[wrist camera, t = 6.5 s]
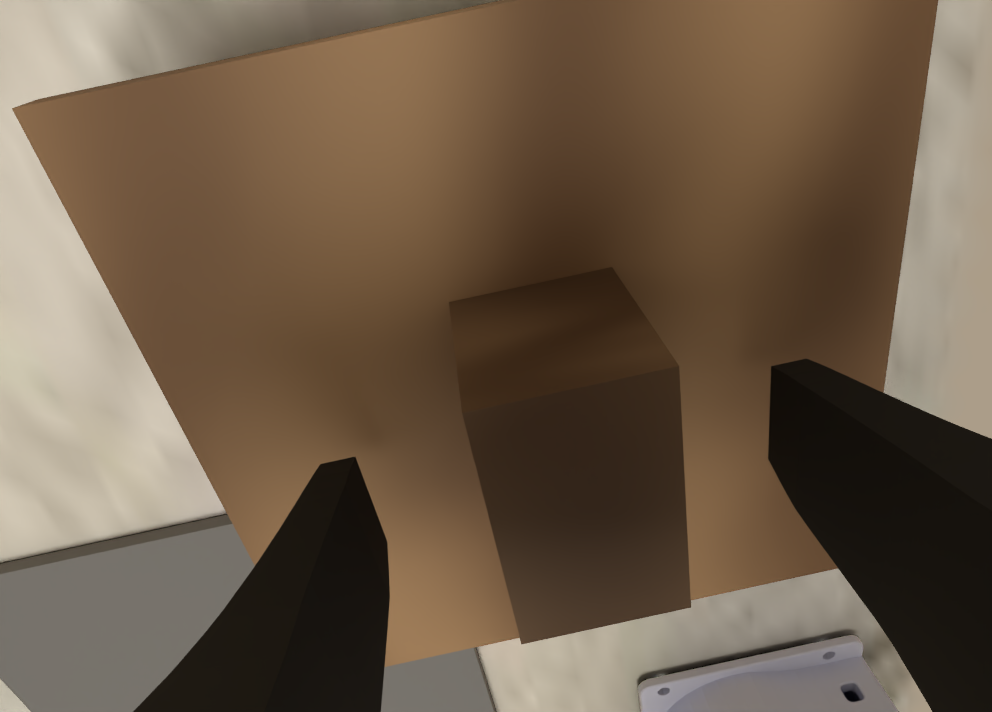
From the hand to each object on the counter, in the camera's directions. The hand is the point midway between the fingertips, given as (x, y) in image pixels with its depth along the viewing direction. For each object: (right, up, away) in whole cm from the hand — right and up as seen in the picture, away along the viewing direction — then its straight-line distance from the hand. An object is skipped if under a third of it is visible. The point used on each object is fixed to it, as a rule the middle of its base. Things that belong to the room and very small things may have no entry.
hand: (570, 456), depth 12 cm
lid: (0, +1, +2) cm, 3 cm away
